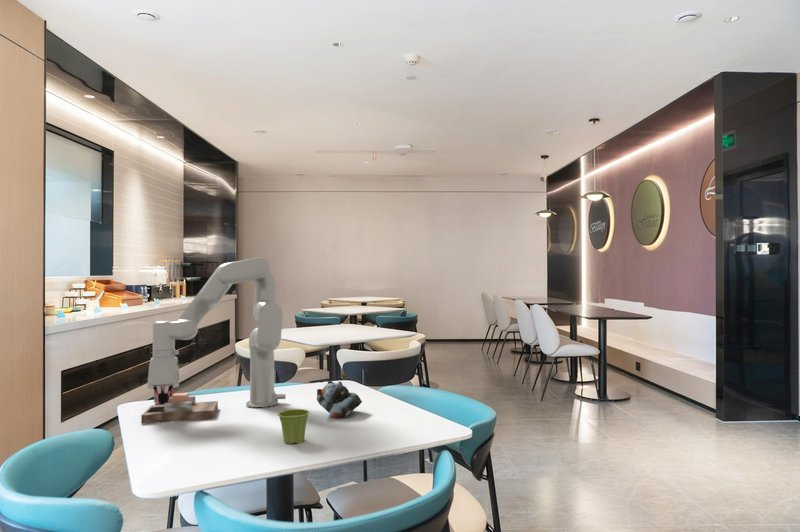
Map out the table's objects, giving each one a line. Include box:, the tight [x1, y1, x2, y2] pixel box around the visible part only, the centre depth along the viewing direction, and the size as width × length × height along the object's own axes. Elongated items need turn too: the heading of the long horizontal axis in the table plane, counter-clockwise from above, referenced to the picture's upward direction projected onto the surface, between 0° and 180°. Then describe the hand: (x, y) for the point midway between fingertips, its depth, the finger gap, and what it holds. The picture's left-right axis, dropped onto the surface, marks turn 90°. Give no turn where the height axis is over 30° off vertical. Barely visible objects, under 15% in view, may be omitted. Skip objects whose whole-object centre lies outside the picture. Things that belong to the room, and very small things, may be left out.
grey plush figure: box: [316, 380, 363, 419], centre depth 187 cm, size 15×12×14 cm
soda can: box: [153, 385, 174, 405], centre depth 209 cm, size 7×7×12 cm
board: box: [140, 395, 219, 424], centre depth 188 cm, size 24×16×6 cm, turn 105°
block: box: [172, 392, 190, 403], centre depth 188 cm, size 5×5×5 cm
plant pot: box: [277, 408, 310, 445], centre depth 154 cm, size 9×9×9 cm
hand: (163, 403), depth 186 cm, fingers closed
